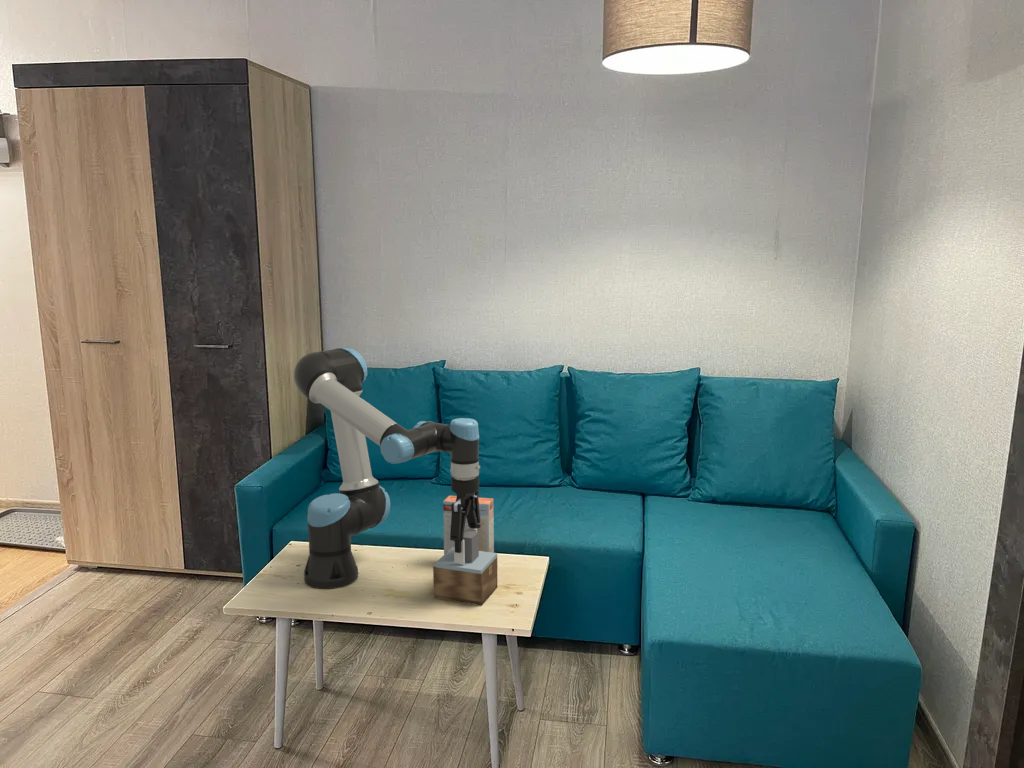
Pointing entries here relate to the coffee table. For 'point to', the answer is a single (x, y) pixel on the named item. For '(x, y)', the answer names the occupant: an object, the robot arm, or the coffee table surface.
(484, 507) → the cracker box
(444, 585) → the keepsake box
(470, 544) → the block
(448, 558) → the lid
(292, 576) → the coffee table surface
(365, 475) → the robot arm
